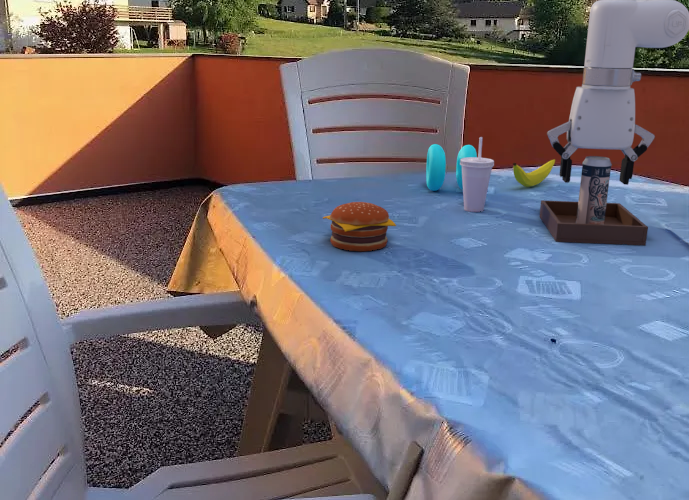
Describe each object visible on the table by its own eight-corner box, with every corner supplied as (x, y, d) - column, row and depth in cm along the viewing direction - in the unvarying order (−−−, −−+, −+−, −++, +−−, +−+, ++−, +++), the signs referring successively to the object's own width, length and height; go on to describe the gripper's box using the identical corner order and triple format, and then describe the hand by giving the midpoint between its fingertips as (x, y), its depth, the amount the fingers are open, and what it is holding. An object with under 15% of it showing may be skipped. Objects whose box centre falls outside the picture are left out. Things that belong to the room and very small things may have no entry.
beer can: (591, 231, 120) (600, 161, 117) (569, 225, 124) (576, 157, 120) (609, 227, 123) (618, 158, 119) (587, 221, 126) (595, 154, 123)
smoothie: (474, 215, 132) (479, 140, 128) (450, 208, 137) (454, 136, 133) (497, 210, 136) (503, 137, 132) (473, 204, 141) (478, 133, 137)
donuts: (424, 185, 158) (427, 140, 155) (469, 186, 158) (472, 141, 155) (428, 195, 149) (430, 147, 146) (476, 196, 148) (479, 148, 145)
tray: (617, 219, 131) (619, 203, 130) (645, 245, 115) (648, 227, 114) (539, 216, 132) (540, 200, 131) (555, 241, 116) (557, 223, 115)
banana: (558, 181, 166) (561, 154, 164) (517, 192, 152) (520, 163, 150) (546, 179, 168) (549, 152, 166) (505, 190, 154) (508, 161, 152)
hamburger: (347, 255, 107) (347, 212, 105) (320, 239, 115) (320, 199, 113) (400, 248, 111) (401, 206, 109) (371, 233, 119) (371, 194, 117)
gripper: (654, 79, 119) (640, 179, 124) (548, 77, 120) (539, 176, 125) (669, 81, 112) (653, 188, 117) (556, 79, 113) (546, 184, 118)
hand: (594, 182), depth 121 cm, fingers open, 9 cm apart
